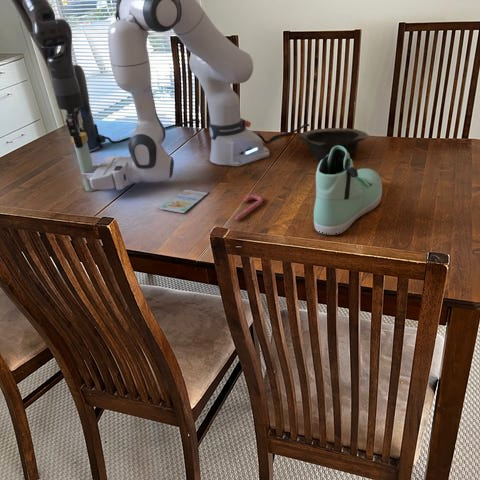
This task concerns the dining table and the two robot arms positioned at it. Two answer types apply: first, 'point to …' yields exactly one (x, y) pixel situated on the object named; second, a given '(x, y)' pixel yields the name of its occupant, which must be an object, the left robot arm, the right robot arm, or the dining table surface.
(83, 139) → the lid
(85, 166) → the mint green cylinder
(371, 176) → the sneaker
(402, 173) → the dining table surface
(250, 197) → the candy cane
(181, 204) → the baking ingredient package
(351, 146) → the stone bowl
